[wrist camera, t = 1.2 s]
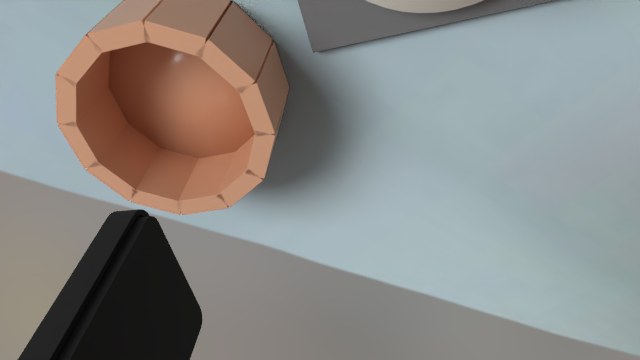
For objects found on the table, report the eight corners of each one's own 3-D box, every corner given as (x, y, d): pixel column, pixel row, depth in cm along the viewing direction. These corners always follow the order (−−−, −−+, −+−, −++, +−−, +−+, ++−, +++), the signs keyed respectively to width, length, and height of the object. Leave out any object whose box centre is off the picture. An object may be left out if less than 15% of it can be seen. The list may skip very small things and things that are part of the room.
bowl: (249, -35, 29) (225, -1, 25) (309, 146, 35) (298, 197, 31) (61, 14, 31) (13, 52, 27) (148, 174, 37) (118, 224, 33)
